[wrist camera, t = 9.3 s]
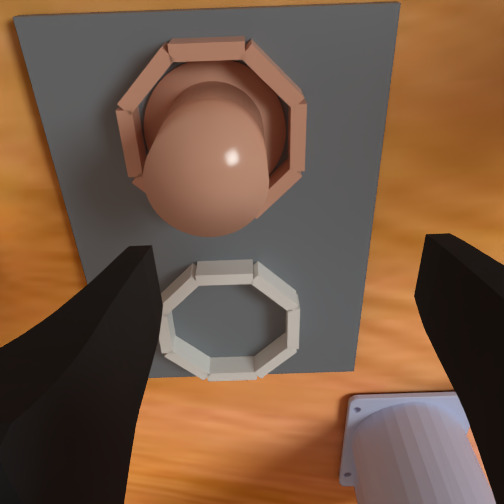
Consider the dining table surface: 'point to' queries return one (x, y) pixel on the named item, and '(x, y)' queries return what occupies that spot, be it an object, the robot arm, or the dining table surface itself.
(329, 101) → the grey board with rings
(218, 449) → the dining table surface
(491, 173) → the dining table surface
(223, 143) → the beige rounded cylinder
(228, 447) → the dining table surface
